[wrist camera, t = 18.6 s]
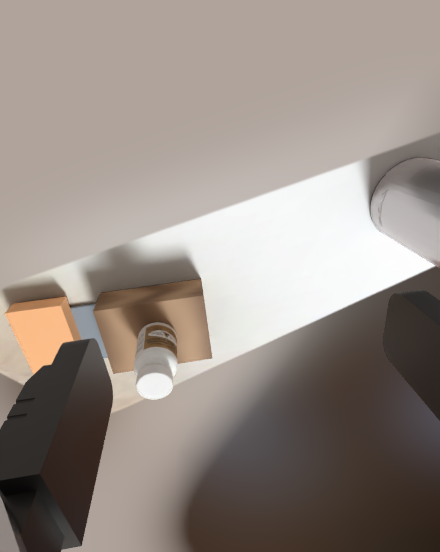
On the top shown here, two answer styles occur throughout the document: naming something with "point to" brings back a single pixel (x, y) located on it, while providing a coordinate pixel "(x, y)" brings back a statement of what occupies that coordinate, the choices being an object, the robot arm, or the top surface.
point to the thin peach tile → (42, 328)
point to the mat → (88, 324)
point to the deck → (153, 320)
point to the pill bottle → (155, 360)
